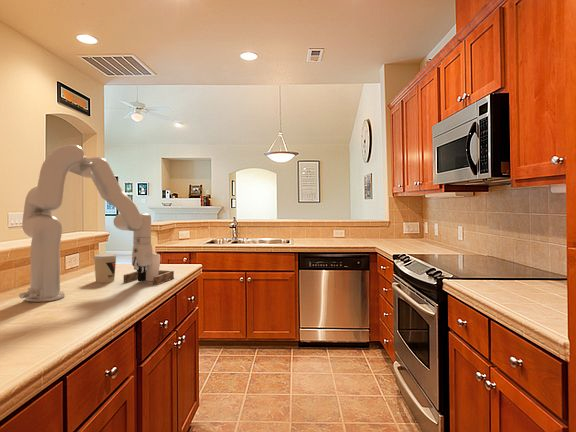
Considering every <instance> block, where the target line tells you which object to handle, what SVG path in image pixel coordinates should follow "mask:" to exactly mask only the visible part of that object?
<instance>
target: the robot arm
mask: <svg viewBox="0 0 576 432" xmlns="http://www.w3.org/2000/svg"><path fill="white" fill-rule="evenodd" d="M68 172H69V173H72V174H75V175H77V176H80V177H83V178H87V179H91V181H92V183H94V186H95V188H96V189H97V191H98V193H99V195H100V196H101V197H100V198H102V199H103V200H104V201H106V202H107V203H109V205H111V206H112V207H114V208H115V209H116V210H117V212H119V213H118V214H117V215H115V217H114V218H113V226H115V228H116V229H118V230H121V231H126V232H127V231H128V232H133V233H132V234H133V237H132V238H133V240H132V241H133V244H132V245H133V246H132V250H131V251H132V253H131V265H132V267H133V270H135V271H137V273H138V279H137V282H142V283H143V282H147V281H146V272H147V267H148V265H151V264H152V263H153V262H152V261H153V260H152V259H153V253H154V252H153V247H152V246H153V245H152V216H151V214H149V213H140V211H139V209H138V207H137V206H136V204H135V203H134V201H133V200H132V199H131V198H130V197H129V196H128V194H127V193H126V192H125V191H124V190H123V189H122V187H121V185H120V183H119V182H118V180H117V178H116V176H115V174H114V172H113V170H112V167H111V166H110V163H109V162H108V161H107V160H106V158H103V157H98V156H95V157H88V156H86V155H85V151H84V149H83V148H82V147H81V146H79V145H77V144H65V145H61V146H57V147H55V148H53V149H52V151H51V152H50V154H49V155H47V157H46V158H45V159H44V161H43V163H42V165H41V167H40V172H39V174H38V175H39V176H38V181H37V186H34V187H32V188H31V189H30V190H29V191H28V192H27V194H26V197H25V200H24V207H23V214H22V224H21V225H22V226H21V227H22V230H23V232H24V233H25V235H26V236H28V237H30V238H31V242H30V251H29V255H30V256H29V257H30V287H29V288H27V291H26V292H21V293H19V296H18V297H19V298H20V299H25V301H27V302H30V303H42V302H52V301H57V300H60V299H63V298H65V292H62V291H61V242H62V240H61V239H62V235H63V226H62V223H61V221H60V220H59V219H58V218H57V217H56V216H54V215H52V212H53V211H57V210H58V209H59V208H61V206H62V204H63V198H64V197H63V196H64V189H65V184H66V183H65V181H66V178H67V175H68Z"/></svg>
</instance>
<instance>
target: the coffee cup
mask: <svg viewBox="0 0 576 432" xmlns="http://www.w3.org/2000/svg"><path fill="white" fill-rule="evenodd" d="M93 259H94V274H95V276H94V277H95V282H96V283H97V284H99V283H100V284H101V283H102V284H103V283H104V284H105V283H113V282H115V277H116V275H115V274H116V265H117V264H116V262H117V255H116V254H114V253H102V254H95V255H94V257H93Z"/></svg>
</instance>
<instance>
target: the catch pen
mask: <svg viewBox="0 0 576 432" xmlns="http://www.w3.org/2000/svg"><path fill="white" fill-rule="evenodd" d="M174 273H175V271H174V270H163V269H159V274H158V276H155V277H153V281H152V284H153V286H157V285H159V283H160V284H163V283H164V282H167V280H168V281H170V280H172V278H173V279H174V278H175V277H174V276H175V275H174ZM169 279H170V280H169ZM135 280H138V273H137V270H135V271H131V272H130V273H126V274H123V283H125V284H126V283H129V282H133V281H135Z"/></svg>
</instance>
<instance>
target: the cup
mask: <svg viewBox="0 0 576 432" xmlns="http://www.w3.org/2000/svg"><path fill="white" fill-rule="evenodd" d="M152 253H153V259H152V260H153V261H152V262H153V263H152V264H151V265H148V267H147V272H146V281H145V282H153V277H155V276H158V274H159V270H160V266H161V265H160V264H161V254H160V253H154V252H152Z"/></svg>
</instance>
